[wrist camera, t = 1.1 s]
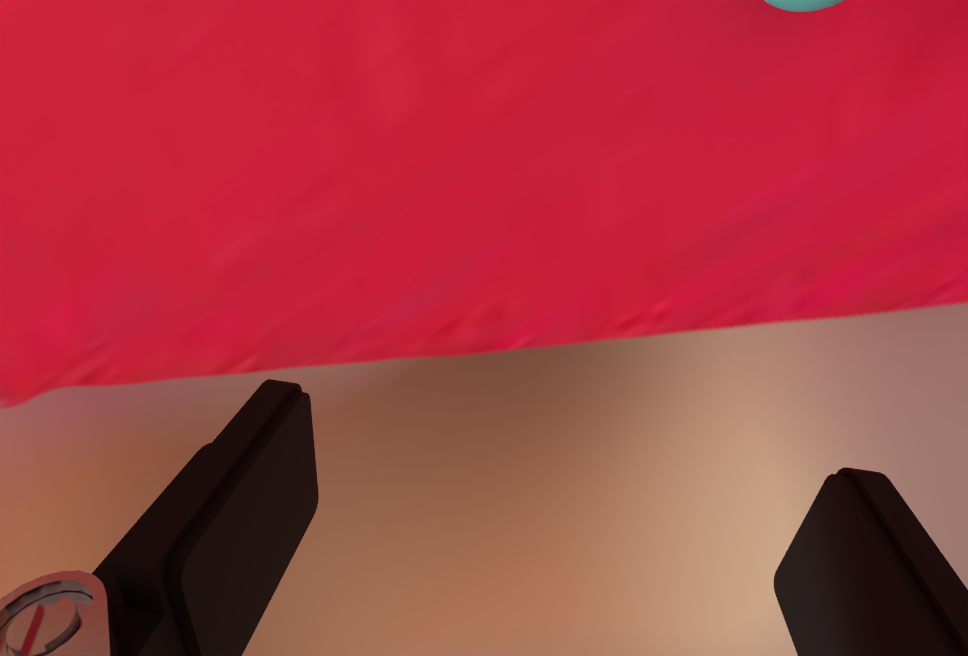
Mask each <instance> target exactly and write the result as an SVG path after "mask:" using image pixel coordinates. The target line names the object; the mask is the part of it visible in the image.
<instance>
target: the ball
mask: <svg viewBox="0 0 968 656" xmlns="http://www.w3.org/2000/svg"><path fill="white" fill-rule="evenodd" d="M764 1H766V2H767V3H769V4H771V5H773V6H775V7H777V8H780V9H783V10H787V11H795V12H808V11H814V10H820V9H823V8H827V7H830V6H833V5H835V4H838V3H840V2H842V1H844V0H764Z"/></svg>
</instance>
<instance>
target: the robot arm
mask: <svg viewBox="0 0 968 656" xmlns="http://www.w3.org/2000/svg"><path fill="white" fill-rule="evenodd" d="M317 504H318V485H317V472H316V461H315V449H314V439H313V427H312V414H311V403H310V396H309V394H308V393H304V392H302V389H301V387H300V385H299V384H297V383H290V382H283V381H277V380H271V379H269V380H266V381H265V382H264V383H262V385H261V386H260V387H259V388H258V389H257V390H256V392H255V393H254V394H253V395H252V396H251V397H250V399H249V400H248V401H247V402H246V403H245V405H244V406H243V407H242V408H241V409H240V411H239V412H238V413H237V414H236V415H235V416H234V417H233V419H232V420H231V421H230V422H229V423H228V425H227V426H226V427H225V428H224V429H223V431H222V432H221V433H220V434H219V435H218V436H217V437H216V439H215V440H214V441H213V442H212V443H209V444H207V445H205V446H203V447H202V448H201V449H200V450H199V451H198V452H197V453H196V454H195V455H194V456H193V457H192V459H191V460H190V461H189V462H188V463H187V464H186V466H185V467H184V468H183V469H182V470H181V471H180V473H179V474H178V475H177V476H176V477H175V478H174V479H173V481H172V482H171V483H170V484H169V485H168V486H167V487H166V489H165V490H164V491H163V492H162V493H161V494H160V496H159V497H158V498H157V499H156V500H155V501H154V502H153V504H152V505H151V506H150V507H149V508H148V509H147V511H146V512H145V513H144V514H143V515H142V516H141V517H140V519H139V520H138V521H137V522H136V523H135V524H134V526H133V527H132V528H131V529H130V530H129V532H127V534H126V535H125V536H124V537H123V538H122V539H121V541H120V542H119V543H118V544H117V545H116V546H115V548H114V549H113V550H112V551H111V552H110V553H109V554H108V556H107V557H106V558H105V559H104V560H103V561H102V563H101V564H100V565H99V566H98V567H97V568H96V570H95V571H94V572H93V573H92V574H90V573H86V572H82V571H60V572H56V573H52V574H48V575H44V576H41V577H39V578H36V579H34V580H32V581H30V582H28V583H25V584H23V585H21V586H19V587H18V588H16V589H15V590H13V591H12V592H10V593H9V594H7V595H6V596H4V597H2V598H1V599H0V656H242V654H243V652H244V650H245V648H246V646H247V644H248V643H249V640H250V639H251V637H252V635H253V633H254V631H255V629H256V627H257V625H258V623H259V621H260V619H261V617H262V615H263V613H264V611H265V609H266V608H267V605H268V603H269V602H270V600H271V598H272V596H273V594H274V592H275V590H276V588H277V586H278V584H279V582H280V580H281V578H282V577H283V575H284V573H285V571H286V568H287V567H288V565H289V563H290V561H291V559H292V557H293V555H294V553H295V551H296V549H297V547H298V545H299V544H300V541H301V540H302V538H303V536H304V534H305V532H306V530H307V528H308V526H309V524H310V522H311V520H312V518H313V516H314V514H315V511H316V508H317ZM774 590H775V594H776V597H777V600H778V602H779V605H780V608H781V611H782V613H783V616H784V619H785V621H786V624H787V627H788V629H789V632H790V635H791V638H792V641H793V643H794V646H795V648H796V651H797V654H798V656H968V590H967V588H966V587H965V585H964V584H963V583H962V581H961V580H960V578H959V577H958V576H957V574H956V573H955V571H954V570H953V568H952V567H951V566H950V564H949V563H948V561H947V560H946V559H945V557H944V556H943V554H942V553H941V552H940V550H939V549H938V547H937V546H936V545H935V543H934V542H933V540H932V539H931V538H930V536H929V535H928V534H927V532H926V531H925V529H924V528H923V526H922V525H921V523H920V522H919V521H918V519H917V518H916V516H915V515H914V514H913V512H912V511H911V510H910V508H909V507H908V505H907V504H906V502H905V501H904V500H903V498H902V497H901V495H900V494H899V493H898V491H897V490H896V488H895V487H894V486H893V484H892V483H891V481H890V480H889V479H888V478H887V477H886V476H885V475H884V474H882V473H879V472H873V471H867V470H860V469H853V468H842V469H840V470H839V471H838V472H837V474H831V475H829V476H828V477H827V478H826V480H825V481H824V484H823V485H822V487H821V489H820V491H819V493H818V495H817V496H816V499H815V500H814V502H813V504H812V506H811V508H810V509H809V511H808V513H807V515H806V517H805V519H804V520H803V522H802V524H801V526H800V528H799V530H798V532H797V533H796V535H795V537H794V539H793V541H792V543H791V544H790V546H789V548H788V550H787V552H786V554H785V556H784V558H783V560H782V561H781V563H780V565H779V567H778V569H777V571H776V573H775V576H774Z"/></svg>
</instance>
